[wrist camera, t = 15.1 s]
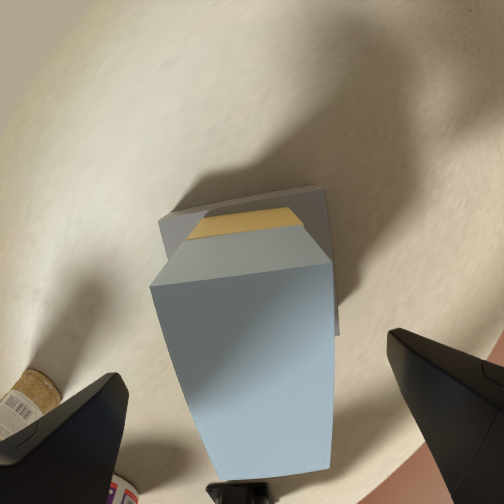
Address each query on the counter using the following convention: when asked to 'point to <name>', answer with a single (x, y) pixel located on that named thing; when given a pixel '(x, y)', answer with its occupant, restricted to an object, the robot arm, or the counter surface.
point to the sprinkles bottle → (26, 402)
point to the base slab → (297, 199)
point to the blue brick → (253, 348)
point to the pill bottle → (122, 492)
